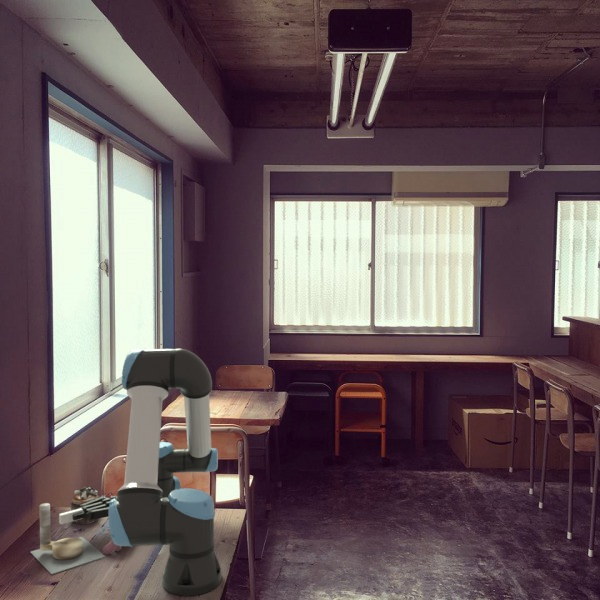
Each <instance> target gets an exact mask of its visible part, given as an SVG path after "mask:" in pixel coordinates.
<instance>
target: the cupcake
mask: <svg viewBox="0 0 600 600" xmlns="http://www.w3.org/2000/svg"><path fill="white" fill-rule="evenodd" d="M73 493H74V495H73V497H72V499H71V503H70V507H69V508H70V511H72V510H76V509H80V505H81V504H84V503H87V502H89V501H92V500H95V499H97V498H99V495H98V490H96V489H95V488H94V487H92V488H91V487H90V486H89V485H88V486H84V487H82V488H77V489H76V490H74V492H73ZM95 520H96V521H98V520H97V519H93V520H89V518H87V519H84V518H83V519H79V520H76V521H73V523H74V522H76V523H75V524H77V523H88V524H90V523H91V522H92V523H94V522H96V521H95ZM93 521H94V522H93ZM92 523H91V524H92Z"/></svg>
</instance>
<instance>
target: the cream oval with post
mask: <svg viewBox="0 0 600 600" xmlns="http://www.w3.org/2000/svg"><path fill="white" fill-rule="evenodd" d="M38 507H39V508H38V509H39V512H38V513H39V549H40V550H50V551H52V554H53V557H54V558H55V559H60V560H65V559H71V558H74V557H77V556H79V555H80V554H81V553H82V540H81V539H79V538H78V537H74V536H73V537H64V538H62V539H58V540H52V539H51V538H52V537H51V504H50V503H48V502H45V503H41V504H40V505H39V506H38Z"/></svg>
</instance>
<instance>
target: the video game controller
mask: <svg viewBox="0 0 600 600" xmlns="http://www.w3.org/2000/svg"><path fill="white" fill-rule="evenodd" d="M122 547H123V546H117V545H115V544H114V542H113V541H112V540H111V541H110V542H108V543H107V544H106V545H105V546H104V547H103V548H102V554H103V555H110V554H112V553H114V552H115V551H116V552H119V551H120V550H121V548H122Z"/></svg>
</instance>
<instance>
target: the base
mask: <svg viewBox="0 0 600 600" xmlns="http://www.w3.org/2000/svg"><path fill="white" fill-rule="evenodd" d="M77 538H79V539H81V540H82V553H81V554H80V555H79V556H77V557H74V558H71V559H65V560H60V559H55V558H54V557H53V554H52V551H50V550H40V548H38V549H35V550H31V551H30V554H31V555H32V556H33V557H34V558H35V559H36V560H37V561H38V563H39V564H41V566H43V568H44V569H45V570H46V571H47V572H48V573H49V574H50V575H51V576H52V575H56V574H60V573H62V572H64V571H65V572H66V571H68V570H72V569H74V568H78V567H80V566H84V565H87V564H90V563H92V562H95V561H99V560H102V559H105V558H106V554H104V553H103V552H101V551H100V550H99V549H97V548H96V547H95V546H94V545H92V544H91V542H89V541H88V540H87V539H85V538H84V537H83V536H79V537H77Z"/></svg>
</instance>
